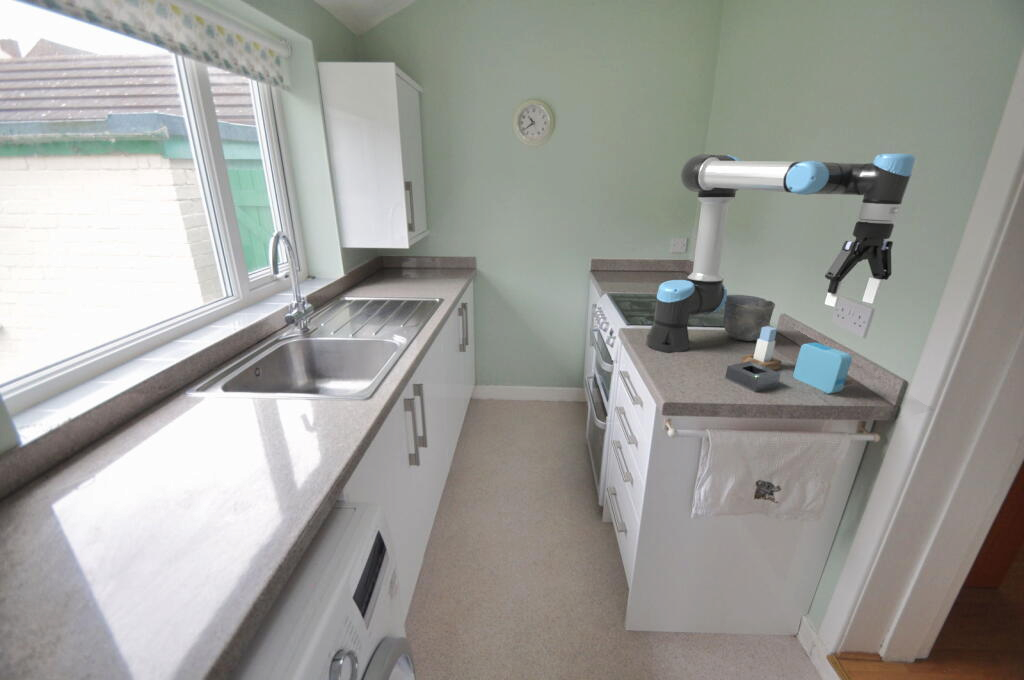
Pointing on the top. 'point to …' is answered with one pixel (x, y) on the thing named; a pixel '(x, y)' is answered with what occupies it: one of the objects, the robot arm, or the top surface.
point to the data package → (822, 367)
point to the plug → (765, 344)
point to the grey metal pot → (746, 316)
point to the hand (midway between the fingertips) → (849, 304)
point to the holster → (771, 364)
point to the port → (752, 376)
